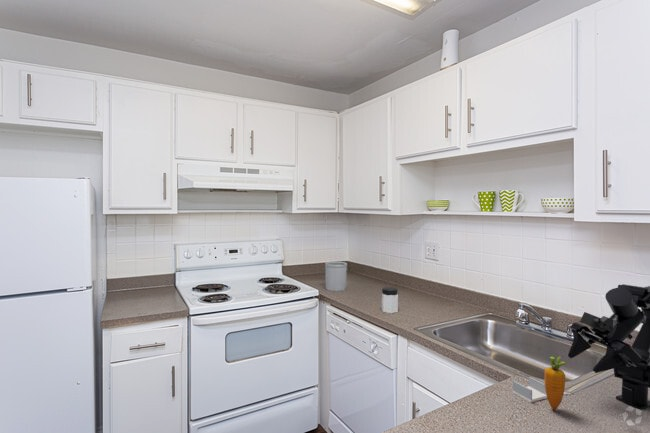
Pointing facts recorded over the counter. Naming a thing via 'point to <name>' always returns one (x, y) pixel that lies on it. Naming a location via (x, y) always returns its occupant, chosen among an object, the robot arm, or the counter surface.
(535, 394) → the white railed tray
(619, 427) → the counter surface
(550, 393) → the carrot
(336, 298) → the counter surface
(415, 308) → the counter surface
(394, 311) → the jar
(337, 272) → the utensil holder
